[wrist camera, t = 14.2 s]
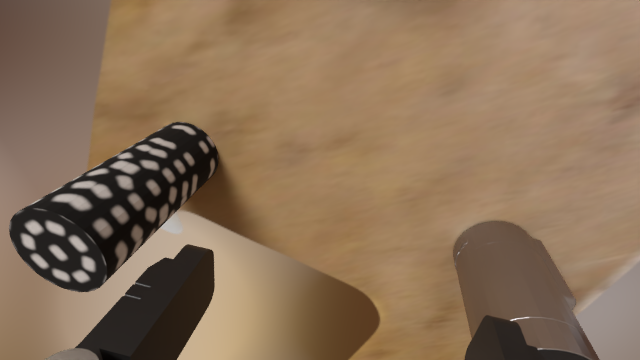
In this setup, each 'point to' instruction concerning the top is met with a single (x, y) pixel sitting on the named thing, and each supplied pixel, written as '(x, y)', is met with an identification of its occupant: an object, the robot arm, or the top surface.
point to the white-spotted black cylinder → (112, 208)
